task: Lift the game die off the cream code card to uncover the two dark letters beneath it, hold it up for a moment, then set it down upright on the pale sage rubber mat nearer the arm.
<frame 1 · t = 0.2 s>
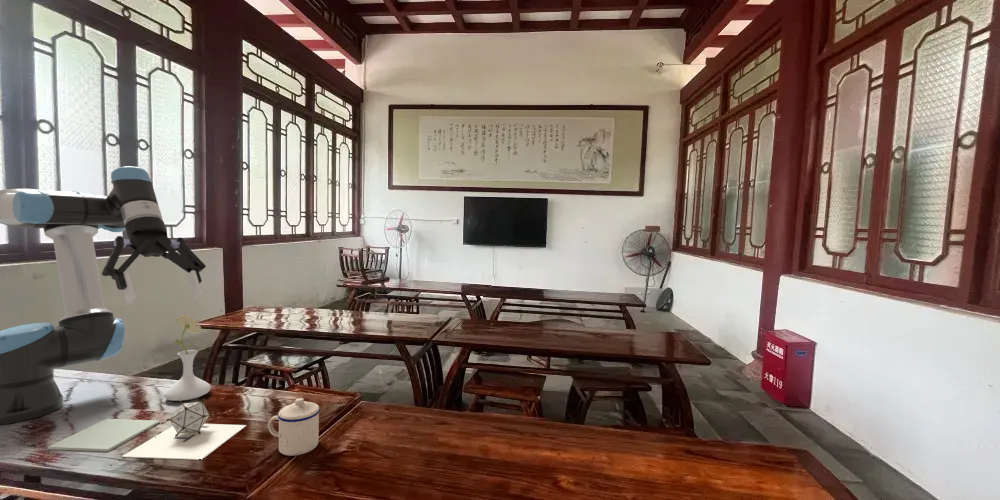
hand: (166, 298, 98), 35 cm above the table, tool tilted 30°, fingers open, 13 cm apart
game die: (190, 433, 102), resting on code card
flower in vase: (186, 396, 124), on the table
sage mat: (107, 435, 100), on the table
code card: (189, 440, 99), on the table
teacup with lid: (293, 447, 98), on the table
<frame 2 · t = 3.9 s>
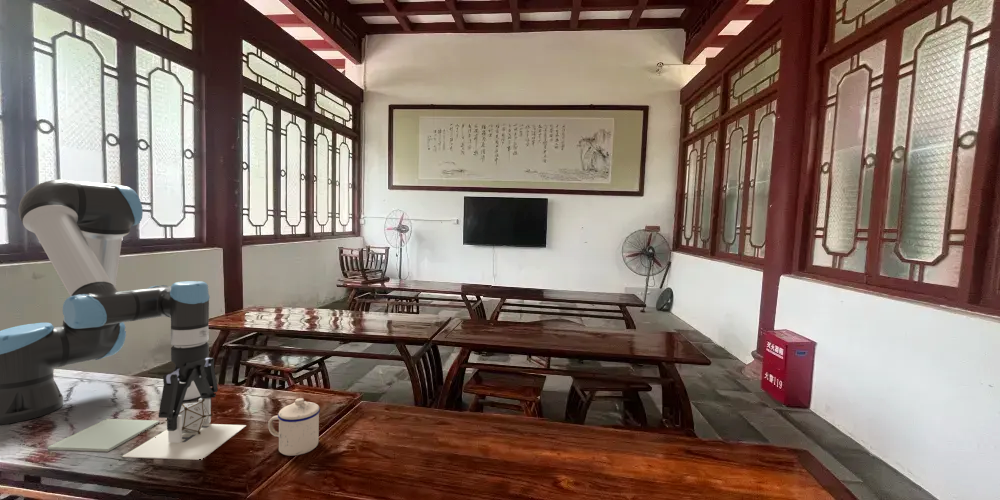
hand: (190, 432, 102), 0 cm above the table, tool pointing down, fingers closed on game die, 9 cm apart
game die: (190, 433, 102), resting on code card, touching gripper
everything else where it was.
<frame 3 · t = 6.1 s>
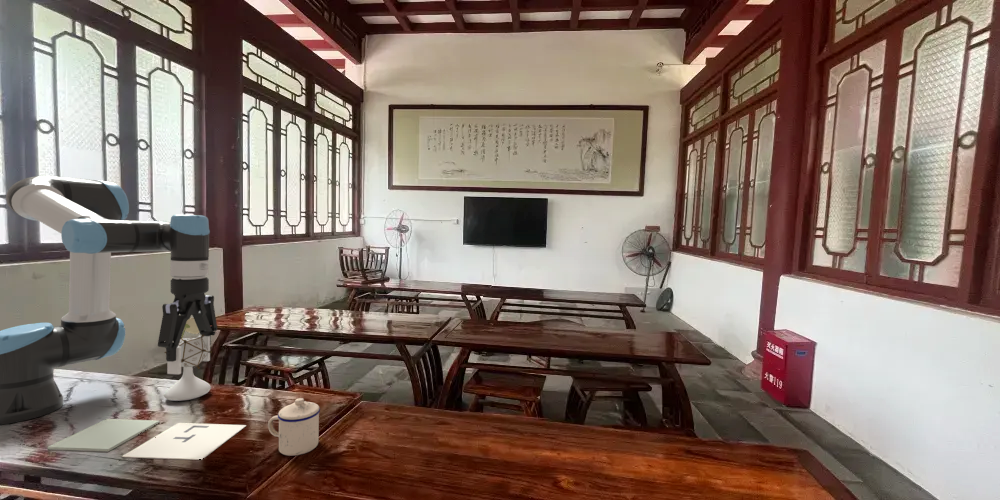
hand: (189, 366, 101), 17 cm above the table, tool pointing down, fingers closed on game die, 9 cm apart
game die: (189, 368, 101), point 17 cm above the table, touching gripper
everything else where it was.
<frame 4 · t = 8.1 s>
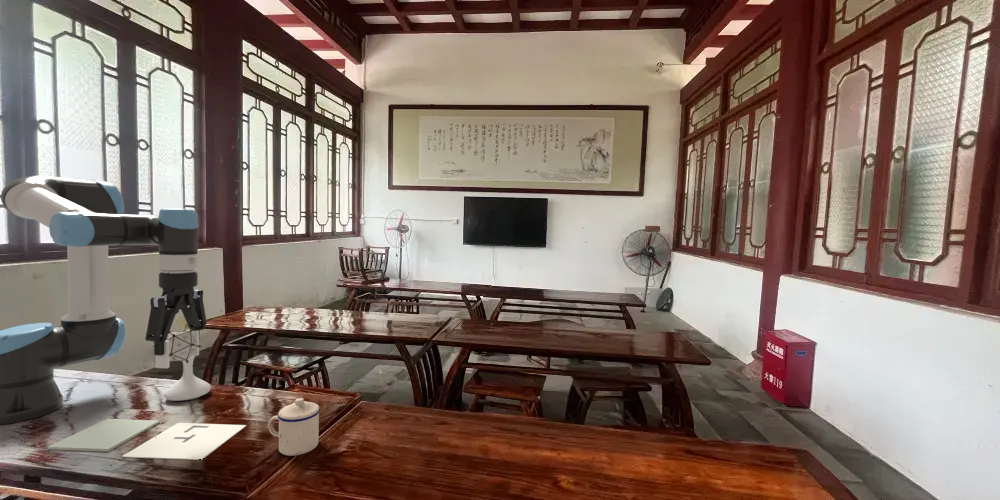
hand: (178, 361, 101), 19 cm above the table, tool pointing down, fingers closed on game die, 9 cm apart
game die: (177, 362, 101), point 18 cm above the table, touching gripper
everything else where it was.
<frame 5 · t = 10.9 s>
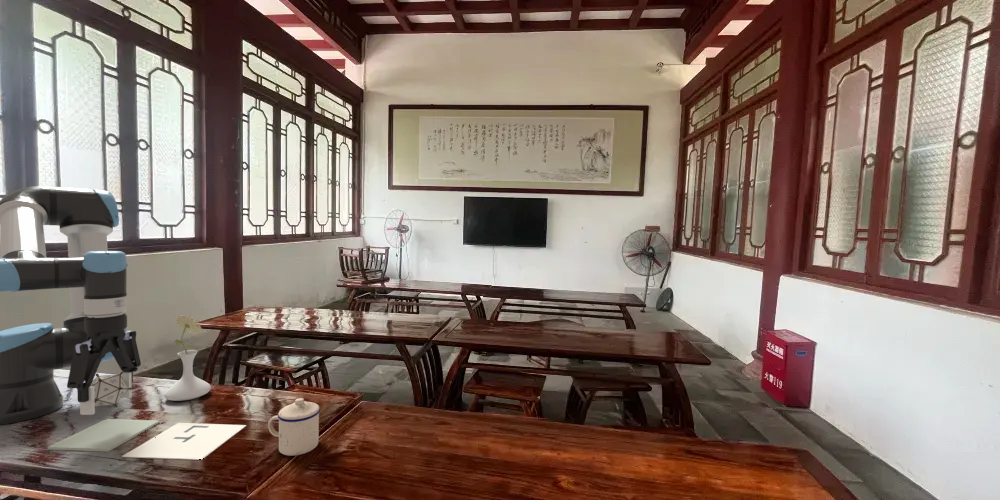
hand: (107, 405, 100), 8 cm above the table, tool pointing down, fingers closed on game die, 9 cm apart
game die: (106, 406, 100), point 7 cm above the table, touching gripper
everything else where it was.
when the fingers open (2 cm above the table, at t = 12.8 s): game die drops 2 cm, resting on sage mat.
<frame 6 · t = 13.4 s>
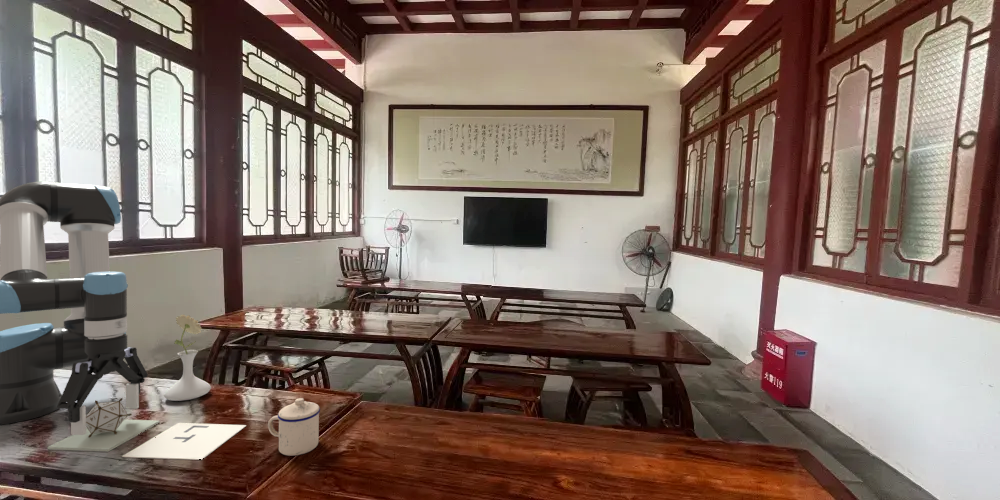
hand: (107, 420, 100), 4 cm above the table, tool pointing down, fingers open, 13 cm apart
game die: (105, 433, 100), resting on sage mat
everything else where it was.
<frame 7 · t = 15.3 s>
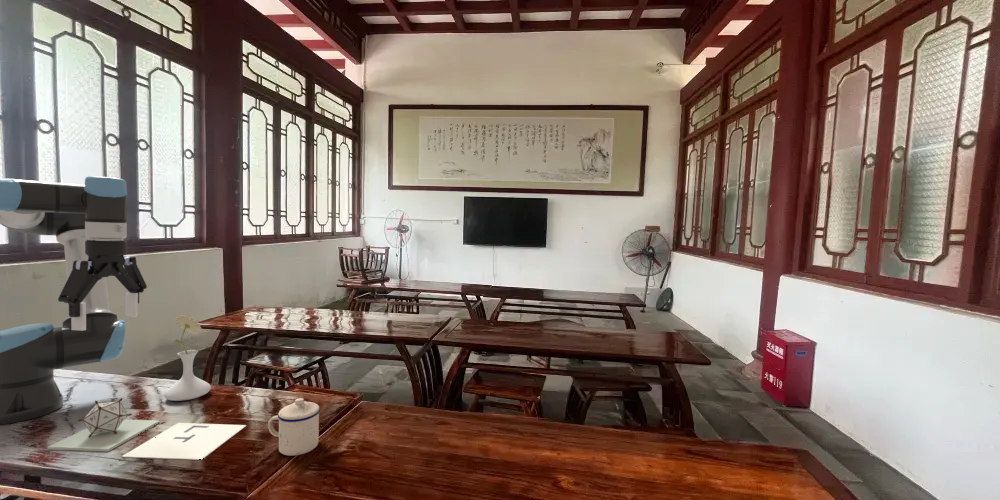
hand: (107, 323, 103), 27 cm above the table, tool pointing down, fingers open, 13 cm apart
nothing on the table moved.
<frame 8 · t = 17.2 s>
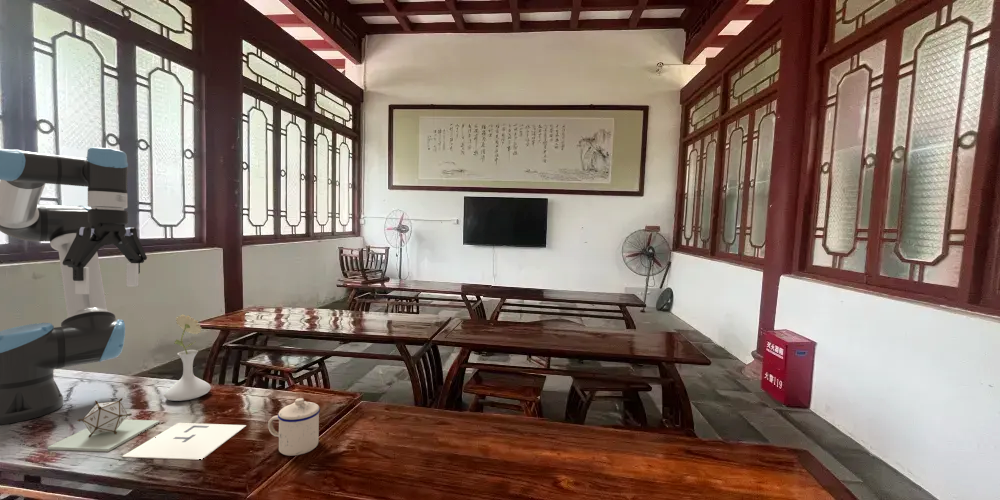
hand: (109, 290, 107), 35 cm above the table, tool pointing down, fingers open, 13 cm apart
nothing on the table moved.
at the end: game die inside the target area on the sage mat (0.3 cm from its centre), point 0.4 cm above the sage mat's base; game die tilted 2°; the gripper is holding nothing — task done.
